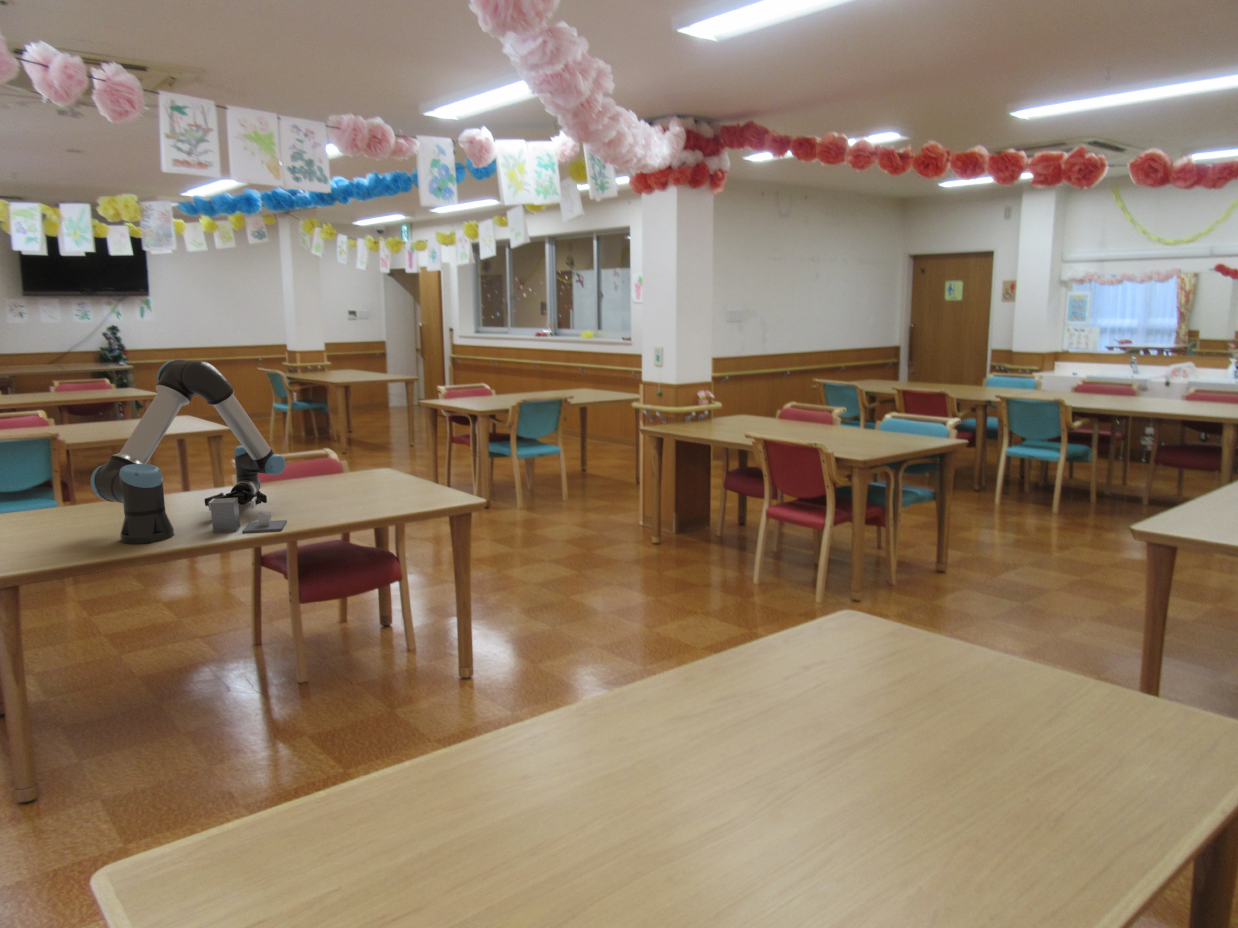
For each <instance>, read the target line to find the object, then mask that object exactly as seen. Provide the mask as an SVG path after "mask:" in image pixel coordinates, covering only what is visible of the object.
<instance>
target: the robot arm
mask: <svg viewBox="0 0 1238 928" xmlns="http://www.w3.org/2000/svg"><path fill="white" fill-rule="evenodd" d="M156 374H157V375H156V378H157V384H156V385H155V390H156V394H155V396H154V398H153V399H152V400H151V403H150V404H149V406H148V407H147V408H146V411H145V412H144V414H143V415H142V417H141V419H140V420H139V422H138V423H137V425H136V426H135V428H134V430H133V431H132V433H131V434H130V436H129V437H128V439H127V440H126V442H125V443H124V446H123V447H122V448H121V449H120V452H119V453H115V454H112V455H111V456H110V458H109V459H108V461H107V462H106V463H105V464H102V465H100V466H98V467H97V468H95V469H94V470H93V472H92V473H91V477H90V486H91V490H92V492H93V493H94V495H96V497H98V498H99V499H102V500H105V501H107V502H112V503H119V504H122V505H123V513H124V518H123V522H122V527H121V531H120V542H122V543H124V544H130V545H133V544H134V545H141V544H151V543H155V542H156V543H157V542H162V541H165V540H168V539H171V538H172V537H174V536H175V532H174V527H173V525H172V522H171V520H170V518H169V516H168V514H167V512H166V506H165V505H166V502H165V492H164V483H163V481H164V478H163V475H162V471H161V469H160V468H159V467H158V466H156V465H154V464H149V463H148V462H149V460H150V459H151V457H152V455H153V454H154V452H155V450H156V449H157V447H158V445H159V444H160V442H161V441H162V440H163V438H164V436H165V434H166V433H167V431H168V429H169V428H170V427H171V424H173V421H174V420H175V418H176V417H177V415H178V413H179V412H180V410H181V408H182V407H184V406H188V405H190V403H191V401H192V399H193V398H194V397H195V395H196V396H199V397H200V398H202V399H204V400H205V402H206V403H207V405H208V406H213V407H214V409H215V410H216V412H218V414H219V415H220V417H221V419H223V421H224V422H225V424H226V426H227V427H228V428H229V429H230V431H231V432H232V434H233V435H234V436H235V438H236V439H237V440H238V441H239V443H240V445H237V446H236V447H235V448H234V457H233V458H234V465H235V473H236V474H235V475H236V484H235V485H233V487H232V488H231V490H230V492H227V493H225V494H224V492H220V493H218V494H216V495H212V496H209V497H205V498H204V506H205V507H208V511H211V504H210V503H211V502H212V501H213V500H214V499H220V498H238V505H243V506H244V505H247V504H248V503H250V504H251V505H250V506H251V509H255V508H256V507H257V505H260V504H262V503H264V504H267V503H268V499H267V495H266V494H265V493H262V492H261V491H260V489H261V487H262V486H261V480H260V478H259V474H265V475H270V476H273V475H274V476H278V475H280V474H282V473H283V472H284V471H285V470H286V464H287V463H286V459H285V457H284V456H282V455H280V454H278V453H275V452H274V451H273V449H272V448H271V447H270V445H269V444H268V442H267V441H266V440H265V438H264V437H263V435H262V434H261V432H260V430H259V429H258V428H257V426H256V425H255V423H254V422H253V421H252V419H251V417H250V416H249V415H248V414H247V412H246V410H245V409H244V407H243V405H242V404H241V403H240V402H239V399H237V397H236V396H235V389H234V387H233V386H232V384H231V383H230V382H229V381H228V379H227V377H225V375H223V373H221V371H220V370H219V369H218V368H216V367H215V366H214V365H213V364H212V363H209V362H207V361H204V360H187V359H173V360H168V361H166V362H165V363H163V364H162V365H161V366H160V367H159V369H158V371H157V373H156Z"/></svg>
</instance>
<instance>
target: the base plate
mask: <svg viewBox="0 0 1238 928" xmlns="http://www.w3.org/2000/svg"><path fill="white" fill-rule="evenodd" d="M287 523H288V519H280V520H279V519H277V520H271V525H270V526H263V527H259V521H249V522H248V523H247V525H246V526H245V527H244V528H243V530H242V534H252V533H253V534H254V533H269V532H270V533H272V532H282V531H283V530H284V527H285V526H286V525H287Z"/></svg>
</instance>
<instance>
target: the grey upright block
mask: <svg viewBox="0 0 1238 928" xmlns="http://www.w3.org/2000/svg"><path fill="white" fill-rule="evenodd" d="M210 504H211V512H210V513H211V522H212V523H211V525H212V533H213V534H225V533H237V532H238V530H239V529H240V528H241V520H240V510H239V504H238V498H220V499H214V500H213V501H212V502H211V503H210Z"/></svg>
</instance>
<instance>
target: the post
mask: <svg viewBox="0 0 1238 928" xmlns="http://www.w3.org/2000/svg"><path fill="white" fill-rule="evenodd" d="M257 518H258V522H259V527H263V526H270V525H271V521H272V520H271V512H269V511H267V512H259V513H258V517H257Z"/></svg>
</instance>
